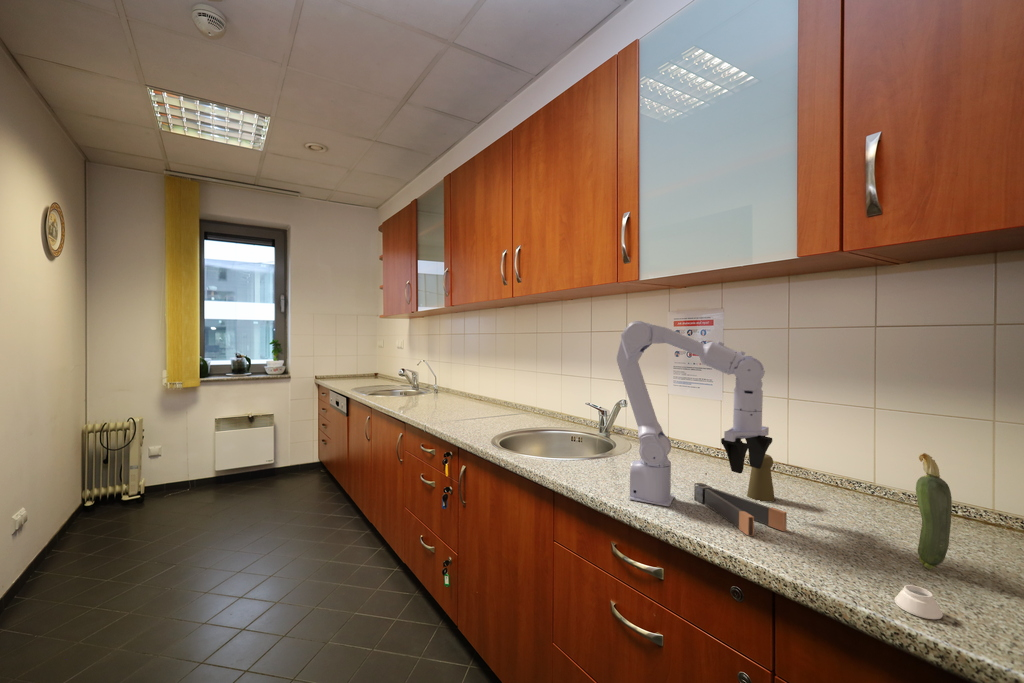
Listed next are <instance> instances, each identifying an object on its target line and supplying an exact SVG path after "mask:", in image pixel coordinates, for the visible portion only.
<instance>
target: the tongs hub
mask: <svg viewBox="0 0 1024 683" xmlns="http://www.w3.org/2000/svg"><path fill="white" fill-rule="evenodd" d="M693 486H694V487H693V488H694V491H693V492H694V493H693V498H694V501H696V502H697V503H700V504H701V505H706V504H705V489H709V490H711V489H712V488H713V487H712V486H711V485H708V484H706V483H703V482H694V485H693Z"/></svg>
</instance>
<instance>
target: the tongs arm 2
mask: <svg viewBox="0 0 1024 683" xmlns="http://www.w3.org/2000/svg"><path fill="white" fill-rule="evenodd" d="M711 491H712V492H714V493H715V494H717V495H718V496H720V497H722V498H723V499H725V500H726V501H728V502H729V503H731V504H733V505H734V506H736V507H737V508H739V509H740V510H742V511H745V512H747V513H748V514H750V515H752V516H753V517H754V521H756V522H759V523H762V524H765V525H768V527H770V528H773V529H776V530H778V531H781V532H786V531H787V522H788V521H787V520H788V519H787V516H788V515H787V513H788V512H787V511H784V510H781V509H778V508H776V507H769V506H767V505H764V504H762V503H761V504H760V503H758V502H755V501H752V500H749V499H747V498H743V497H740V496H738V495H735V494H732V493H729V492H726V491H723V490H719V489H716V488H714V487H712V489H711Z"/></svg>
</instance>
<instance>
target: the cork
mask: <svg viewBox="0 0 1024 683" xmlns="http://www.w3.org/2000/svg"><path fill="white" fill-rule="evenodd" d="M773 465H774V459H773V458H772V456H771V455H769V454H767V453H765V456H764V459H763V463H762V466H761V468H760V469H758V468H754V467H751V470H750V475H749V482H748V487H747V488H748V489H747V493H746V494H747V495H746V496H747V498H749V499H751V498H752V499H751V500H753V499H755V500H754V501H757V500H760V501H759V502H762V501H773V500H774V501H775V491H774V484H773V478H772V477H773V476H772V469H771V468H772V467H773ZM774 501H773V502H774Z"/></svg>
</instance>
